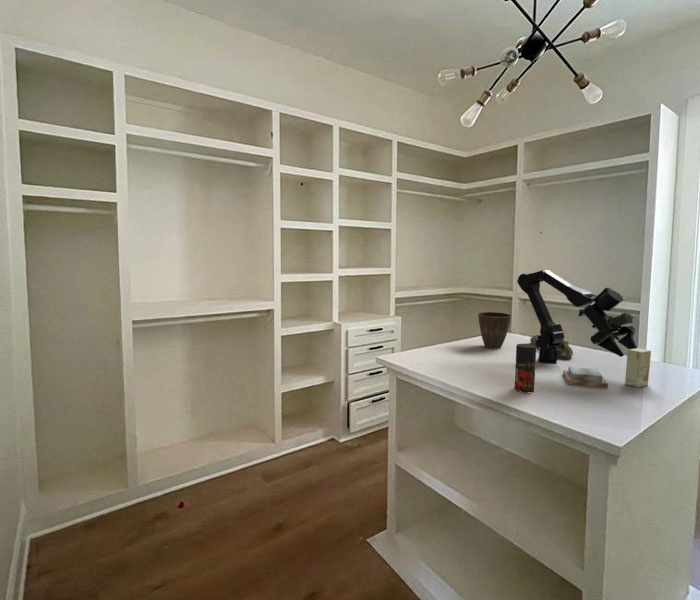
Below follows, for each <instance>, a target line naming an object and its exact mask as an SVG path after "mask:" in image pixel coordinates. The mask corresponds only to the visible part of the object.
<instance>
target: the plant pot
mask: <svg viewBox="0 0 700 600" xmlns="http://www.w3.org/2000/svg"><path fill="white" fill-rule="evenodd" d="M477 315H478V316H477V317H478V325H479V330H480V335H481V339H482V342H483V346H484V348H487V349H492V348H496V349H495V350H498V349H497V348H499V349H501V348H502V346H503V345H504V342H505V340H506V337H507V335H508V332H509V328H510V325H511V321H512V320H511V319H512V315H511V314H510V313H505V312H504V313H503V312H495V311H484V312H479V313H478V314H477Z"/></svg>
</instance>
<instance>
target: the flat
mask: <svg viewBox="0 0 700 600" xmlns="http://www.w3.org/2000/svg"><path fill="white" fill-rule="evenodd" d="M540 337H541V334H533V336H531V337H530V340H529V341H530V344H531V345H535V346H536V341H537V340H538V339H539V338H540ZM536 348H538V347H537V346H536ZM556 348H557V351H558V359H560V358H561V360H572V358H573V355H574V352H573V349H572V348H571V346H570V345H569V341H566V340H563V341H562V342H561V344H560V346H557V347H556Z"/></svg>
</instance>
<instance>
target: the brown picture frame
mask: <svg viewBox="0 0 700 600" xmlns="http://www.w3.org/2000/svg"><path fill="white" fill-rule="evenodd" d="M562 374H563V377H564V380H565V382H566V385H572V384H573V385H574V386H575V385H576V386H582V385H584V387H590V388H591V387H593V388H602V389H608V388H609V383H608V382H607V381H606V379H605V378H604V377H603V375H602V374H601V372H600V371H599V369H597V368H589V367H588V368H587V367H578V366H577V367H576V366H568V370H562Z"/></svg>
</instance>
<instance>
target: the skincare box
mask: <svg viewBox="0 0 700 600" xmlns="http://www.w3.org/2000/svg"><path fill="white" fill-rule="evenodd" d="M651 357H652V350H650V349H644V348H640V347H639V348H638V347H637V348H636V349H627V356H626V367H625V368H626V369H625V378H624V379H625V380H624V384H626V385H628V386H632V387H636V388H641V387H644V386H648V385H649V377H650V368H651V367H650V366H651Z"/></svg>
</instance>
